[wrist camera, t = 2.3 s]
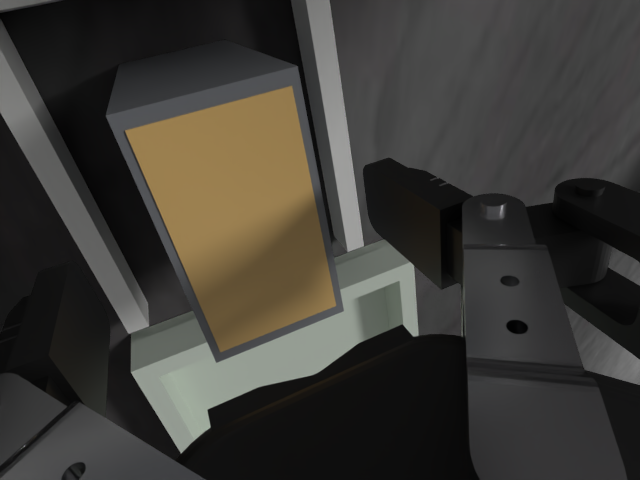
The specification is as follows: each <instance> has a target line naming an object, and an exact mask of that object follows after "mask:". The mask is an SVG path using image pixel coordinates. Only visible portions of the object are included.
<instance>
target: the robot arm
mask: <svg viewBox="0 0 640 480" xmlns="http://www.w3.org/2000/svg"><path fill="white" fill-rule="evenodd" d="M363 177H364V185H365V193H366V201H367V210H368V216H369V219H370V222H371V224H372V226H373V228H374V230H375V231H376V232H377V233H378V234H379V235H380V236H381V237H382V238H384V239H385V240H386V241H387V242H388V243H389V244H390V245H392V246H393V247H394V248H395V249H396V250H397V251H398V252H399V253H401V254H402V255H403V256H404V257H405V258H406V259H407V260H408V261H410V262H411V263H412V264H413V265H414V266H415V267H416V268H417V269H419V270H420V271H421V272H422V273H423V274H424V275H425V276H427V277H428V278H429V279H430V280H431V281H432V282H433V283H434V284H436V285H437V286H438V287H439V288H440V289H441V290H442V289H444V288H447V287H449V286H451V285H454V284H456V283H459V284H460V285H461V336H456V335H446V334H429V335H420V336H414V337H413V336H412V334H411V333H410V332H409V331H408V330H407V329H406V328H405V327H404V325H403V324H402V325H399V326H397V327H395V328H392V329H390V330H388V331H386V332H383V333H381V334H379V335H376V336H374V337H372V338H370V339H367V340H365V341H363V342H360V343H358V344H357V345H356V346H354V347H353V348H352V349H350V350H349V351H347V352H346V353H345V354H343V355H342V356H341V357H339V358H338V359H336V360H335V361H334V362H332V363H331V364H330V365H328V366H327V367H325V368H324V369H323V370H321V371H320V372H318V373H316V374H314V375H311V376H307V377H302V378H297V379H293V380H288V381H284V382H279V383H274V384H270V385H265V386H261V387H258V388H256V389H253V390H251V391H249V392H246V393H244V394H242V395H240V396H237V397H235V398H233V399H230V400H228V401H226V402H224V403H221V404H219V405H217V406H214V407H212V408H210V409H208V410H207V411H208V416H209V421H210V426H211V427H210V428H209V429H208V430H206V431H205V432H204V433H202V434H201V435H200V436H199V437H198V438H197V439H195V440H194V441H193V442H192V443H191V444H190V445H189V446H188V447H187V448H186V449H185V450H184V451H183V452H182V453H181V454H180V455H179V457H178V458H177V459H176V460H175V461H174V460H173V459H171V458H170V457H168V456H166V455H165V454H163V453H161V452H160V451H158V450H157V449H155V448H153V447H152V446H150V445H148V444H147V443H145V442H144V441H142V440H140V439H139V438H137V437H135V436H134V435H132V434H131V433H129V432H127V431H126V430H124V429H122V428H121V427H119V426H118V425H116V424H114V423H113V422H111V421H109V420H108V419H106V401H107V382H108V363H109V344H110V325H109V320H108V317H107V314H106V312H105V310H104V308H103V306H102V304H101V303H100V301H99V299H98V298H97V296H96V294H95V292H94V291H93V289H92V287H91V286H90V284H89V282H88V280H87V279H86V277H85V275H84V274H83V272H82V270H81V269H80V267H79V266H78V264H77V263H76V262H74V261H70V262H67V263H64V264H61V265H58V266H54V267H51V268H48V269H45V270H42V271H40V272H39V273H38V276H37V279H36V282H35V285H34V287H33V290H32V293H31V295H30V296H27V297H24V298H22V299H21V300H20V302H19V303H18V304H17V305H16V306H15V307H14V308H13V309H12V310H11V312H10V313H9V314H8V316H7V319H6V321H5V324H4V326H3V331H2V332H1V334H0V480H640V385H637V384H633V383H630V382H626V381H622V380H619V379H615V378H612V377H608V376H604V375H601V374H597V373H594V372H590V371H586V370H585V369H584V367H583V364H582V361H581V358H580V355H579V351H578V348H577V345H576V341H575V338H574V335H573V331H572V328H571V325H570V321H569V318H568V315H567V311H566V308H565V305H567V306H568V307H569V308H571V309H572V310H573V311H575V312H576V313H578V314H579V315H580V316H582V317H583V318H584V319H586V320H587V321H588V322H590V323H591V324H593V325H594V326H595V327H597V328H598V329H599V330H601V331H602V332H603V333H605V334H606V335H607V336H609V337H610V338H612V339H613V340H614V341H616V342H617V343H618V344H620V345H621V346H622V347H624V348H625V349H626V350H628V351H629V352H631V353H632V354H633V355H635V356H636V357H637V358H639V359H640V286H639V285H637V284H635V283H634V282H632V281H630V280H629V279H627V278H625V277H623V276H622V275H620V274H618V273H617V272H615V271H613V270H611V269H610V268H608V265H609V260H610V256H611V252H612V248H613V247H614V248H616V249H618V250H619V251H621V252H623V253H625V254H627V255H629V256H631V257H633V258H634V259H636V260H637V261H639V262H640V193H637V192H635V191H632V190H630V189H627V188H625V187H622V186H620V185H617V184H614V183H612V182H609V181H605V180H600V179H592V178H578V179H571V180H567V181H564V182H561V183H560V184H558V185H557V186H556V188H555V193H554V200H553V203H547V204H541V205H535V206H529V207H526V206H525V204H524V203H523V202H522V201H521V200H520V199H518V198H516V197H513V196H510V195H506V194H498V193H489V194H481V195H477V196H474V197H473V196H471V195H470V194H468V193H466V192H464V191H462V190H460V189H458V188H456V187H455V186H453V185H451V184H447V183H446V182H445V181H443V180H442V179H440V178H439V179H437V177H436V176H434V175H432V174H430V173H428V172H427V171H423V170H419V169H414V168H407V167H406V166H404V165H402V164H400V163H398V162H397V161H395V160H393V159H391V158H386V159H383V160H380V161H377V162H374V163H371V164H368V165H365V166H364V169H363ZM564 304H565V305H564Z"/></svg>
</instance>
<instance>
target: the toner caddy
mask: <svg viewBox="0 0 640 480" xmlns="http://www.w3.org/2000/svg"><path fill="white" fill-rule="evenodd" d="M106 118H107V120H108V122H109V124H110V127H111V129H112V131H113V133H114V136H115V138H116V140H117V142H118V145H119V147H120V149H121V151H122V153H123V156H124V158H125V160H126V162H127V165H128V167H129V169H130V171H131V174H132V176H133V178H134V180H135V182H136V185H137V187H138V189H139V191H140V194H141V196H142V198H143V200H144V203H145V205H146V207H147V209H148V212H149V214H150V216H151V218H152V220H153V223H154V225H155V227H156V229H157V232H158V234H159V236H160V238H161V241H162V243H163V245H164V247H165V249H166V252H167V254H168V256H169V258H170V261H171V263H172V265H173V267H174V270H175V272H176V274H177V276H178V278H179V281H180V283H181V285H182V287H183V290H184V292H185V294H186V296H187V299H188V301H189V303H190V305H191V308H192V310H193V312H194V314H195V316H196V319H197V321H198V323H199V325H200V328H201V330H202V332H203V334H204V337H205V339H206V341H207V343H208V345H209V348H210V350H211V352H212V354H213V357H214V359H215V361H216V363H218V362H220V361H223V360H225V359H227V358H230V357H232V356H235V355H237V354H240V353H242V352H245V351H247V350H250V349H252V348H255V347H257V346H259V345H262V344H264V343H267V342H269V341H272V340H274V339H277V338H279V337H282V336H284V335H286V334H289V333H291V332H294V331H296V330H299V329H301V328H304V327H306V326H309V325H311V324H314V323H316V322H318V321H321V320H323V319H326V318H328V317H331V316H333V315H336V314H338V313H341V312H343V311H344V308H343V303H342V297H341V292H340V287H339V281H338V276H337V271H336V266H335V260H334V255H333V250H332V245H331V239H330V234H329V229H328V224H327V218H326V213H325V208H324V202H323V197H322V192H321V187H320V181H319V176H318V171H317V166H316V160H315V155H314V150H313V144H312V139H311V134H310V129H309V123H308V118H307V113H306V108H305V102H304V97H303V92H302V86H301V81H300V76H299V71H298V66H296V65H293V64H291V63H288V62H285V61H282V60H280V59H277V58H274V57H271V56H269V55H266V54H263V53H260V52H258V51H255V50H252V49H249V48H247V47H244V46H241V45H239V44H236V43H233V42H230V41H228V40H221V41H217V42H212V43H208V44H204V45H200V46H195V47H191V48H187V49H183V50H178V51H174V52H170V53H165V54H161V55H157V56H153V57H148V58H144V59H140V60H135V61H131V62H127V63H123V64H119V67H118V70H117V74H116V78H115V82H114V86H113V89H112V93H111V97H110V101H109V105H108V108H107V112H106Z"/></svg>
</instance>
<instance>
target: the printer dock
mask: <svg viewBox="0 0 640 480" xmlns="http://www.w3.org/2000/svg"><path fill="white" fill-rule="evenodd" d="M58 1H63V0H0V13H2V12H7V11H12V10H17V9H22V8H28V7H33V6H38V5H43V4H48V3H53V2H58ZM291 4H292V10H293V15H294V21H295V26H296V31H297V37H298V42H299V48H300V53H301V59H302V64H303V70H304V75H305V81H306V86H307V91H308V97H309V102H310V108H311V113H312V119H313V124H314V130H315V135H316V141H317V146H318V151H319V157H320V162H321V168H322V173H323V179H324V184H325V190H326V195H327V201H328V206H329V211H330V217H331V222H332V228H333V233H334V237H335V238H336V239H337V240H338V241H339V242H340V244H341V245H342V246H343V247H344V248H345V249H346V250H347V252H349V251H352V250H355V249H357V248H360V247H363V246H364V243H363V236H362V229H361V221H360V214H359V207H358V200H357V193H356V186H355V179H354V172H353V164H352V157H351V150H350V143H349V136H348V129H347V122H346V114H345V107H344V100H343V93H342V86H341V79H340V72H339V64H338V57H337V50H336V43H335V36H334V29H333V22H332V15H331V7H330V0H291ZM0 113H1V115H2V117H3V118H4V120H5V122H6V123H7V125H8V127H9V129H10V130H11V132H12V134H13V135H14V137H15V139H16V141H17V142H18V144H19V146H20V148H21V149H22V151H23V153H24V154H25V156H26V158H27V160H28V161H29V163H30V165H31V166H32V168H33V170H34V172H35V173H36V175H37V177H38V179H39V180H40V182H41V184H42V185H43V187H44V189H45V191H46V192H47V194H48V196H49V197H50V199H51V201H52V203H53V204H54V206H55V208H56V210H57V211H58V213H59V215H60V216H61V218H62V220H63V222H64V223H65V225H66V227H67V228H68V230H69V232H70V234H71V235H72V237H73V239H74V241H75V242H76V244H77V246H78V247H79V249H80V251H81V253H82V254H83V256H84V258H85V259H86V261H87V263H88V265H89V266H90V268H91V270H92V272H93V273H94V275H95V277H96V278H97V280H98V282H99V284H100V285H101V287H102V289H103V290H104V292H105V294H106V296H107V297H108V299H109V301H110V303H111V304H112V306H113V308H114V309H115V311H116V313H117V315H118V316H119V318H120V320H121V321H122V323H123V325H124V327H125V328H126V330H127V332H128V333H129V334H130V333H132V332H135V331H138V330H140V329H143V328H146V327H148V326H149V314H148V302H147V300H146V298H145V296H144V295H143V293H142V291H141V289H140V287H139V285H138V283H137V281H136V279H135V277H134V275H133V273H132V271H131V269H130V268H129V266H128V264H127V262H126V260H125V258H124V256H123V254H122V252H121V250H120V248H119V246H118V244H117V242H116V241H115V239H114V237H113V235H112V233H111V231H110V229H109V227H108V225H107V223H106V221H105V219H104V217H103V215H102V213H101V212H100V210H99V208H98V206H97V204H96V202H95V200H94V198H93V196H92V194H91V192H90V190H89V188H88V186H87V185H86V183H85V181H84V179H83V177H82V175H81V173H80V171H79V169H78V167H77V165H76V163H75V161H74V159H73V158H72V156H71V154H70V152H69V150H68V148H67V146H66V144H65V142H64V140H63V138H62V136H61V134H60V132H59V131H58V129H57V127H56V125H55V123H54V121H53V119H52V117H51V115H50V113H49V111H48V109H47V107H46V105H45V103H44V102H43V100H42V98H41V96H40V94H39V92H38V90H37V88H36V86H35V84H34V82H33V80H32V78H31V76H30V75H29V73H28V71H27V69H26V67H25V65H24V63H23V61H22V59H21V57H20V55H19V53H18V51H17V49H16V48H15V46H14V44H13V42H12V40H11V38H10V36H9V34H8V32H7V30H6V28H5V26H4V24H3V22H2V21H1V19H0Z"/></svg>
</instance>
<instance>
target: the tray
mask: <svg viewBox="0 0 640 480" xmlns="http://www.w3.org/2000/svg"><path fill="white" fill-rule="evenodd" d="M334 260H335V266H336V271H337V276H338V281H339V287H340V292H341V297H342V303H343V308H344V311H343V312H341V313H338V314H336V315H333V316H331V317H328V318H326V319H323V320H321V321H318V322H316V323H314V324H311V325H309V326H306V327H304V328H301V329H299V330H296V331H294V332H291V333H289V334H286V335H284V336H282V337H279V338H277V339H274V340H272V341H269V342H267V343H264V344H262V345H259V346H257V347H255V348H252V349H250V350H247V351H245V352H242V353H240V354H237V355H235V356H232V357H230V358H227V359H225V360H223V361H220V362H218V363H216V361H215V359H214V357H213V354H212V352H211V350H210V348H209V345H208V343H207V341H206V339H205V337H204V334H203V332H202V330H201V328H200V325H199V323H198V321H197V319H196V316H195V314H194V312H193V311H190V312H188V313H185V314H182V315H180V316H177V317H174V318H172V319H169V320H166V321H164V322H161V323H158V324H156V325H153V326H150V327H147V328H145V329H142V330H139V331H137V332H134V333H131V374H132V375H133V377H134V378H135V380H136V382H137V383H138V385H139V386H140V388H141V390H142V391H143V393H144V395H145V396H146V398H147V399H148V401H149V403H150V404H151V406H152V407H153V409H154V411H155V412H156V414H157V416H158V417H159V419H160V420H161V422H162V424H163V425H164V427H165V428H166V430H167V432H168V433H169V435H170V436H171V438H172V440H173V441H174V443H175V445H176V446H177V448H178V449H179V451H180V453H182V452H183V451H184V450H185V449H186V448H187V447H188V446H189V445H190V444H191V443H192V442H193V441H194V440H195V439H197V438H198V437H199V436H200V435H201V434H202V433H204V432H205V431H206V430H208V429H209V428H210V427H211V426H210V421H209V416H208V411H207V410H208V409H210V408H212V407H214V406H217V405H219V404H221V403H224V402H226V401H228V400H230V399H233V398H235V397H237V396H240V395H242V394H244V393H246V392H249V391H251V390H253V389H256V388H258V387H261V386H265V385H270V384H274V383H279V382H284V381H288V380H293V379H297V378H302V377H307V376H311V375H314V374H316V373H318V372H320V371H321V370H323V369H324V368H325V367H327V366H328V365H330V364H331V363H332V362H334V361H335V360H336V359H338V358H339V357H341V356H342V355H343V354H345V353H346V352H347V351H349V350H350V349H352V348H353V347H354V346H356V345H357V344H358V343H360V342H363V341H365V340H367V339H370V338H372V337H374V336H376V335H379V334H381V333H383V332H386V331H388V330H390V329H392V328H395V327H397V326H399V325H402V324H403V325H404V327H405V328H406V329H407V330H408V331H409V332H410V333H411V334H412V336H413V337H414V336H418V321H417V306H416V291H415V275H414V265H413V264H412V263H411V262H410V261H408V260H407V259H406V258H405V257H404V256H403V255H402V254H401V253H399V252H398V251H397V250H396V249H395V248H394V247H393V246H392V245H390V244H389V243H388V242H387V241H386V240H385V239H383V240H380V241H378V242H375V243H372V244H370V245H367V246H364V247H362V248H359V249H356V250H354V251H351V252H348V253H346V254H343V255H340V256H338V257H335V258H334Z"/></svg>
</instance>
